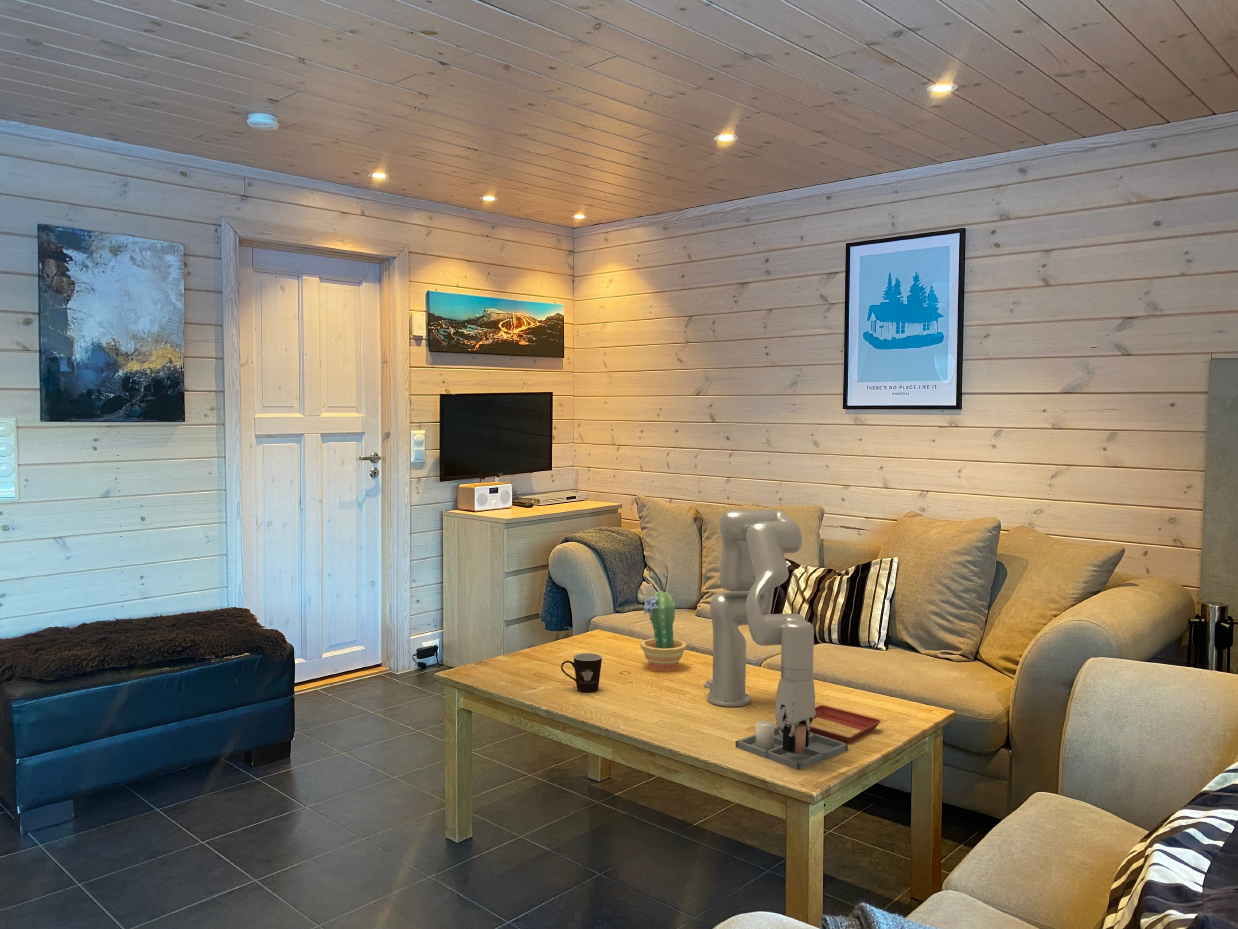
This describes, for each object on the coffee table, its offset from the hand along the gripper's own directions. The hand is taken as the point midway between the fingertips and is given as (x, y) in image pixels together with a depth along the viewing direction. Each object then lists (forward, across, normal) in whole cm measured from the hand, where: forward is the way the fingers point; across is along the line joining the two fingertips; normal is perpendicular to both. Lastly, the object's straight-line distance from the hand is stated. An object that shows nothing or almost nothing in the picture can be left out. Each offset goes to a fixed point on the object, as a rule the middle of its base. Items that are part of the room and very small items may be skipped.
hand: (795, 747), depth 218 cm
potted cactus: (+3, -34, -79) cm, 86 cm away
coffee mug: (+3, +1, -78) cm, 78 cm away
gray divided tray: (+3, -5, -5) cm, 8 cm away
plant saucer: (+4, -26, -7) cm, 27 cm away
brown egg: (+1, 0, 0) cm, 1 cm away
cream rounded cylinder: (+3, -9, -9) cm, 14 cm away
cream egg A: (+3, 0, -9) cm, 10 cm away
